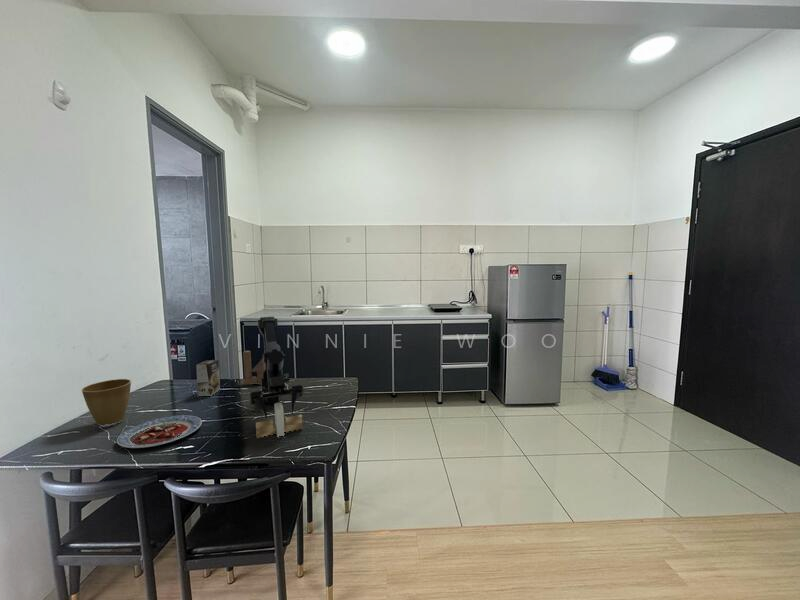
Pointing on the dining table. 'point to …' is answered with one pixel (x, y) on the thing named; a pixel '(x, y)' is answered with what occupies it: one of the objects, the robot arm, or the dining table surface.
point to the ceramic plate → (159, 431)
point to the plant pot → (108, 400)
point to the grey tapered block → (279, 419)
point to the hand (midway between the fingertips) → (279, 415)
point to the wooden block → (248, 371)
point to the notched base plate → (268, 428)
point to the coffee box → (208, 377)
